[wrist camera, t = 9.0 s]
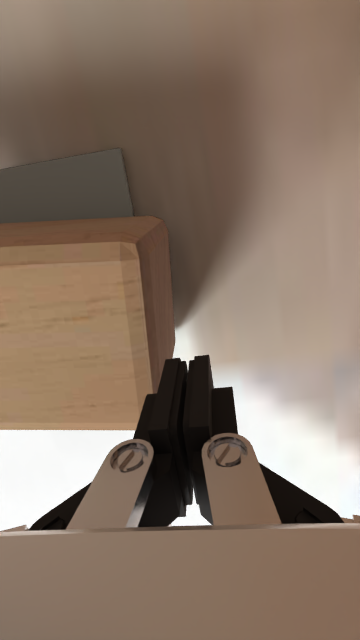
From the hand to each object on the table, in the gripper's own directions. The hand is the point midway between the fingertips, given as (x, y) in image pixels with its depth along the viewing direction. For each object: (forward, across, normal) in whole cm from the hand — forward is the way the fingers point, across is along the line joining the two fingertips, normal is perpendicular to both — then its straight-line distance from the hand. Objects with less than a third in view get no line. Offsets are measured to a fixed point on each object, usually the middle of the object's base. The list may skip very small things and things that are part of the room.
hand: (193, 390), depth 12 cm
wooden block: (+7, +2, -1) cm, 7 cm away
